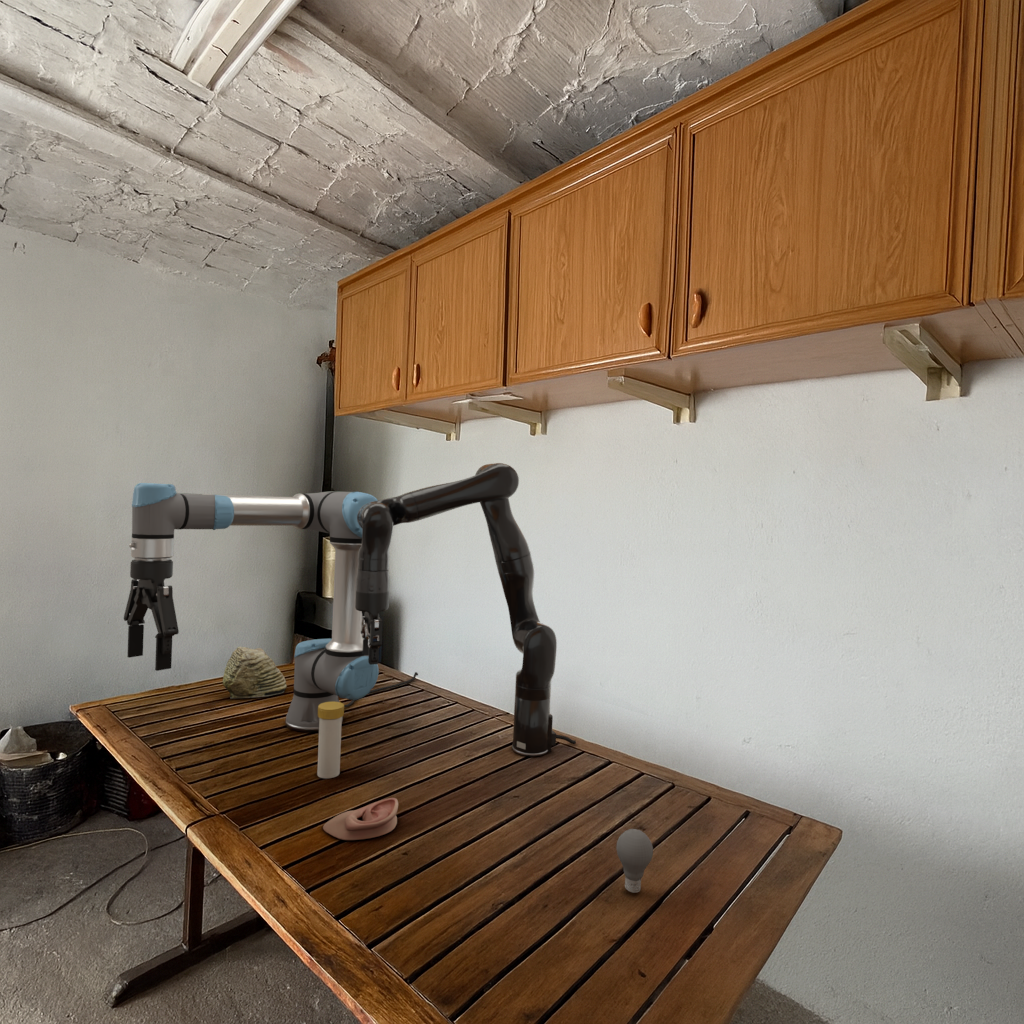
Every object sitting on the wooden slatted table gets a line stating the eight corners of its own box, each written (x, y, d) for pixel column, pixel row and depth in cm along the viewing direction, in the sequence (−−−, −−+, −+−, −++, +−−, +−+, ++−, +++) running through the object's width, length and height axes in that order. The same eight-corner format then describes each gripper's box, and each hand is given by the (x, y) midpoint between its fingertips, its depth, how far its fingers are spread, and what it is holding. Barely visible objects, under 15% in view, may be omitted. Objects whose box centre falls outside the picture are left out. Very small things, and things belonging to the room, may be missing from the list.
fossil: (218, 695, 195) (220, 647, 195) (278, 685, 208) (279, 640, 207) (228, 703, 189) (230, 653, 188) (289, 692, 201) (290, 645, 201)
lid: (312, 716, 143) (312, 706, 143) (330, 709, 149) (330, 699, 148) (331, 721, 141) (331, 711, 141) (349, 714, 146) (349, 704, 146)
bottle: (312, 775, 144) (315, 708, 144) (328, 767, 148) (330, 702, 148) (328, 780, 142) (331, 712, 141) (344, 772, 146) (346, 706, 146)
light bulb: (610, 879, 108) (613, 822, 108) (644, 879, 109) (647, 822, 109) (619, 902, 102) (622, 840, 102) (655, 901, 103) (658, 840, 103)
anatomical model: (315, 814, 118) (343, 787, 129) (314, 835, 118) (343, 807, 129) (382, 825, 115) (405, 796, 127) (381, 846, 116) (404, 816, 127)
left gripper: (108, 554, 134) (104, 654, 134) (159, 565, 118) (155, 678, 119) (146, 552, 140) (143, 648, 140) (199, 563, 124) (195, 671, 124)
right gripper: (395, 593, 140) (392, 666, 141) (383, 584, 154) (381, 651, 154) (360, 594, 138) (358, 668, 138) (351, 585, 151) (349, 652, 151)
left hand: (148, 662), depth 129 cm, fingers open, 13 cm apart
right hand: (370, 659), depth 146 cm, fingers open, 8 cm apart
